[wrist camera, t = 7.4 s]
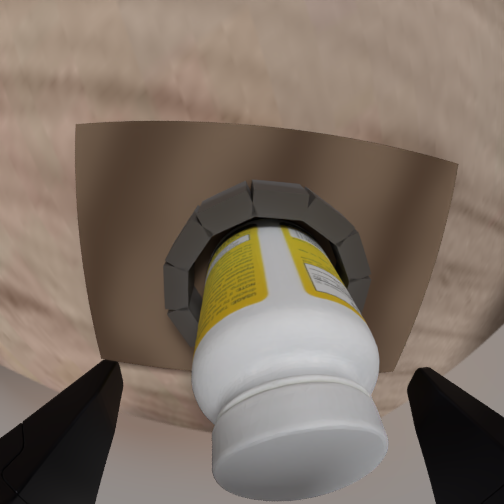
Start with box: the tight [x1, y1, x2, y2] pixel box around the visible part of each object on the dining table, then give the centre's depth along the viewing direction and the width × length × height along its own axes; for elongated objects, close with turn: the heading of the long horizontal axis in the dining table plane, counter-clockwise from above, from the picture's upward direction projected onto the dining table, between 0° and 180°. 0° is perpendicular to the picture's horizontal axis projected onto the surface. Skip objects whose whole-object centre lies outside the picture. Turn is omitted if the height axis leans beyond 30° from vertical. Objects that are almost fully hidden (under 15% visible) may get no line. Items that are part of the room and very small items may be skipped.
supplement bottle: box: [192, 218, 388, 501], centre depth 10 cm, size 5×5×10 cm
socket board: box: [75, 121, 458, 373], centre depth 14 cm, size 18×13×4 cm
